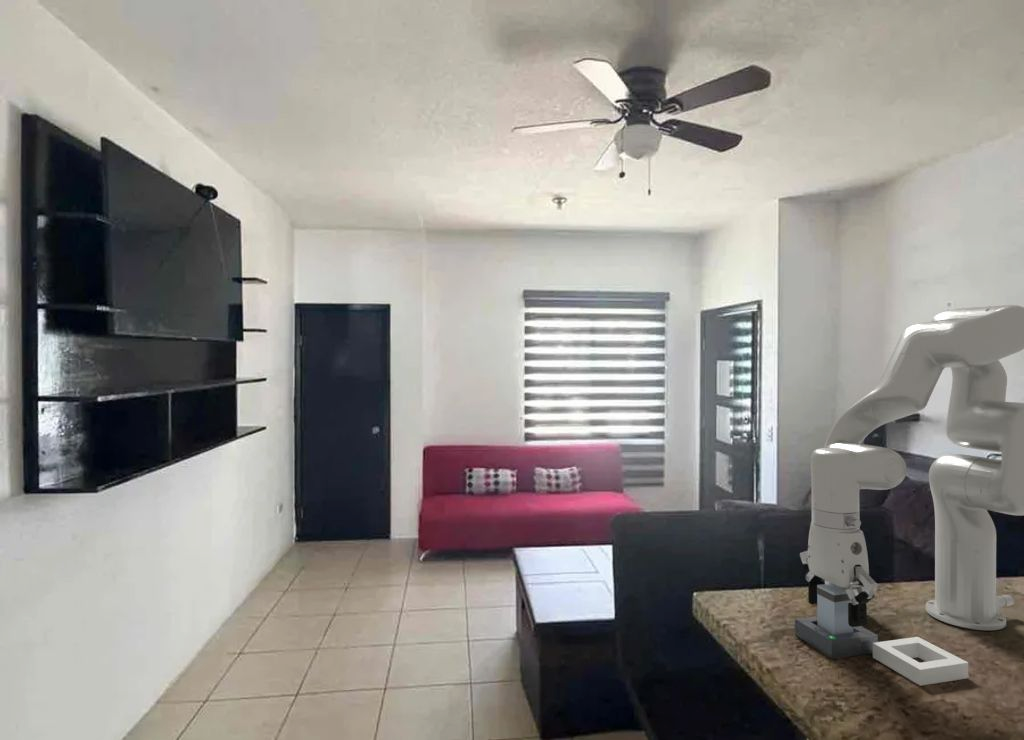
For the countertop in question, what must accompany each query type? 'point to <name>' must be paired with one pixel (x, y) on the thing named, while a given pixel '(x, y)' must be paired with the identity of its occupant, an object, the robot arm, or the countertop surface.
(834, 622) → the plug
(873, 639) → the port
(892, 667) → the holster
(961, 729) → the countertop surface
